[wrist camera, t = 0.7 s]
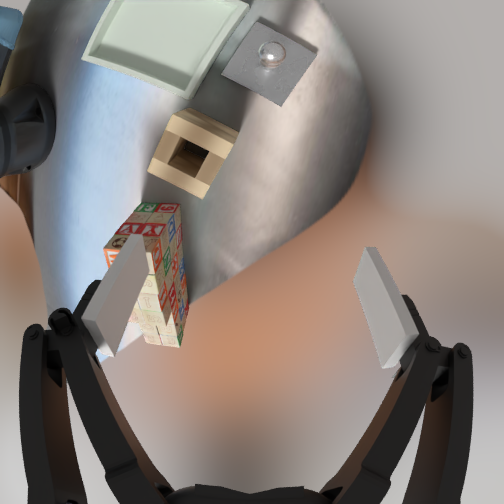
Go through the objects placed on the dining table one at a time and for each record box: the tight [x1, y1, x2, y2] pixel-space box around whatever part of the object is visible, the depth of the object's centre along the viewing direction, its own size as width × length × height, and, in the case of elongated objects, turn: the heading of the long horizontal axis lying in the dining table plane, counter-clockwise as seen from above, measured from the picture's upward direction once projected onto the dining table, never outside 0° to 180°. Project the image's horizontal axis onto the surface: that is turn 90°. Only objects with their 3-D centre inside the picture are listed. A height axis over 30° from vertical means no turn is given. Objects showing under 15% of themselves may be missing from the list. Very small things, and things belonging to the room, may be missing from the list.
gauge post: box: [221, 22, 317, 107], centre depth 21 cm, size 8×8×12 cm
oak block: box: [147, 108, 239, 199], centre depth 29 cm, size 7×7×7 cm
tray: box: [81, 0, 250, 100], centre depth 22 cm, size 17×14×2 cm
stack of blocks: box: [103, 203, 189, 348], centre depth 38 cm, size 21×6×12 cm, turn 176°
